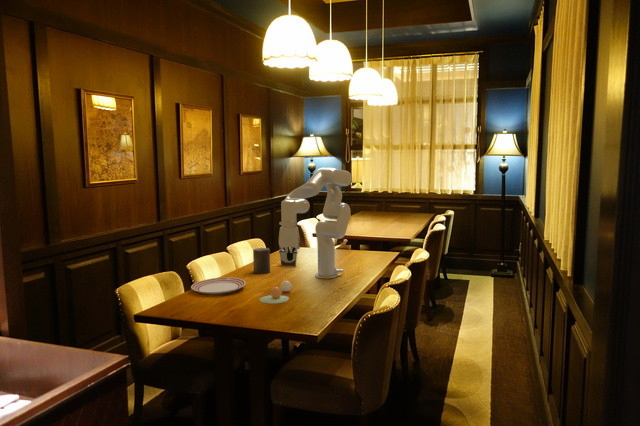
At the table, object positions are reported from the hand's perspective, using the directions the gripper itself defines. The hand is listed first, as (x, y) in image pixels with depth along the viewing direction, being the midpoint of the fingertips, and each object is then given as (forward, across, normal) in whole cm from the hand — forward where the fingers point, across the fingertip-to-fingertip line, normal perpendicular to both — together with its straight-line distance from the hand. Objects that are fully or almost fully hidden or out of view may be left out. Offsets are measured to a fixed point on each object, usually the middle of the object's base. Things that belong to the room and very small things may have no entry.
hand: (290, 260), depth 256 cm
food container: (+15, -22, +52) cm, 59 cm away
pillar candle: (+15, -31, +30) cm, 46 cm away
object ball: (+12, 0, -18) cm, 22 cm away
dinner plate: (+15, -35, -12) cm, 40 cm away
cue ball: (+12, 0, -6) cm, 13 cm away
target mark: (+15, 0, -20) cm, 25 cm away
